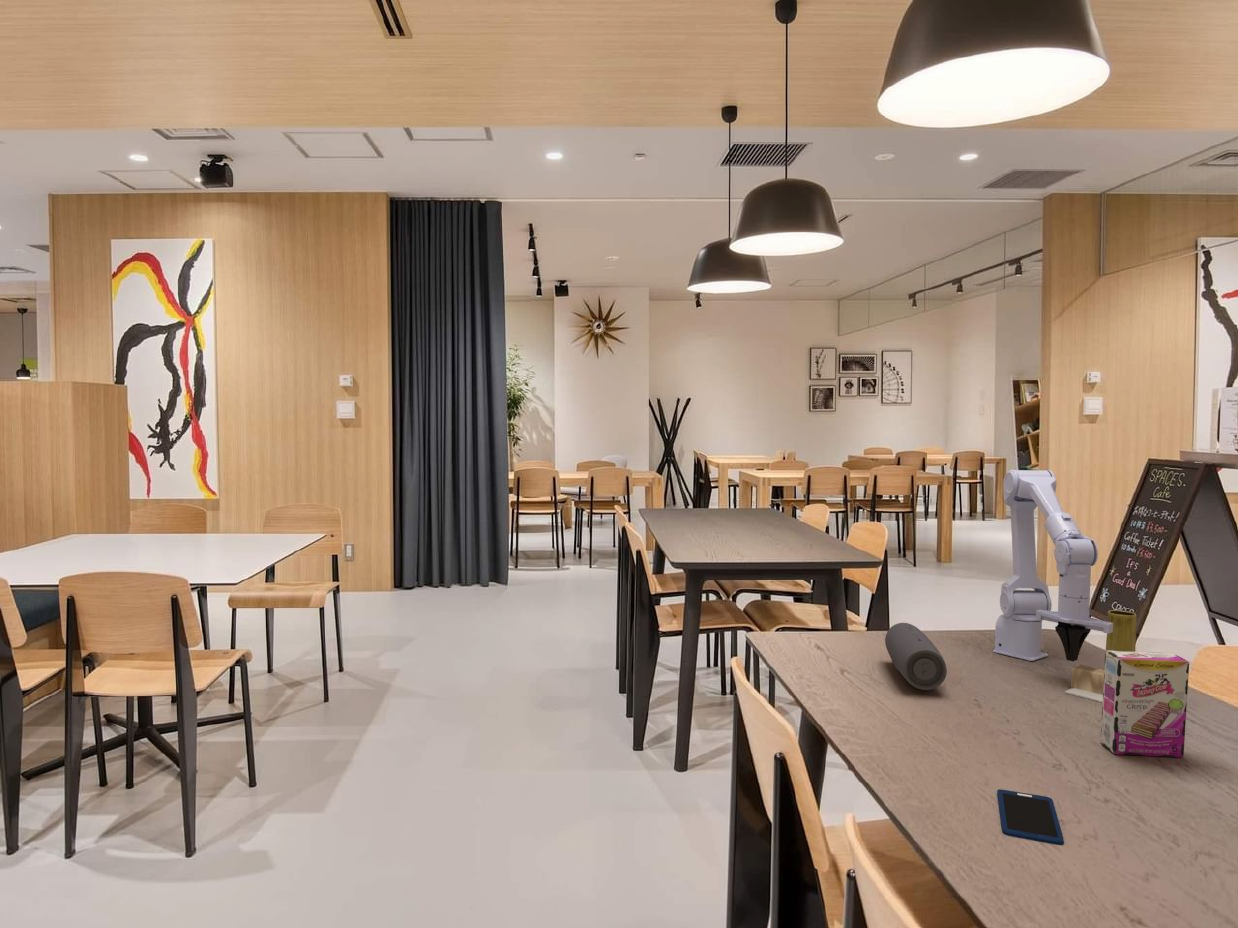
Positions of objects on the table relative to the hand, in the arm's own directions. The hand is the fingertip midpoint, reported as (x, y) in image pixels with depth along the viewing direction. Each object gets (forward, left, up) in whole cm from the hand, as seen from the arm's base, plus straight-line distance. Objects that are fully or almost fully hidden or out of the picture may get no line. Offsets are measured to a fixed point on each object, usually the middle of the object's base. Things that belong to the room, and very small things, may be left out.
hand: (1071, 659), depth 167 cm
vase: (+4, +14, -6) cm, 16 cm away
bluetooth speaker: (-22, -23, -6) cm, 32 cm away
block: (+1, 0, -3) cm, 3 cm away
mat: (+6, 0, -5) cm, 8 cm away
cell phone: (+23, -64, -6) cm, 68 cm away
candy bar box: (+23, -26, -6) cm, 35 cm away
